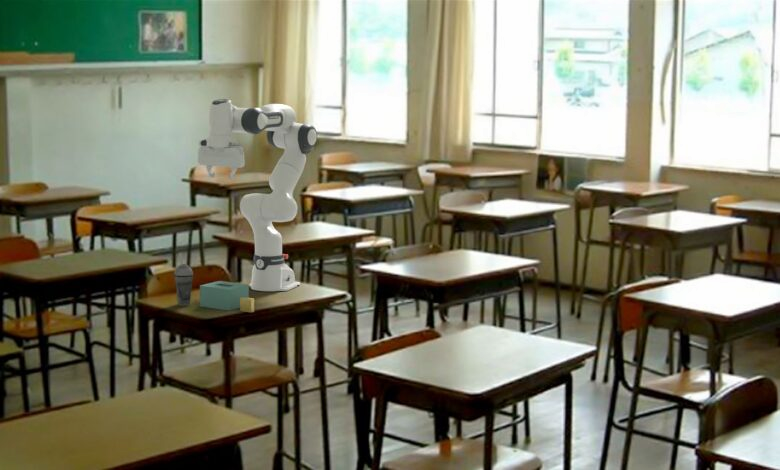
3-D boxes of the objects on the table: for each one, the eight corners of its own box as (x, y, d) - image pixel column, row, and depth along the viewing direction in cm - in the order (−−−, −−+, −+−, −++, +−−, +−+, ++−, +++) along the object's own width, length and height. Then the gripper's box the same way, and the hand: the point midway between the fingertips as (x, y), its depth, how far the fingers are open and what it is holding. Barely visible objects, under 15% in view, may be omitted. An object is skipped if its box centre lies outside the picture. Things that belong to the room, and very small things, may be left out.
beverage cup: (191, 306, 458) (191, 254, 455) (172, 306, 458) (171, 254, 455) (195, 302, 465) (194, 251, 462) (176, 302, 465) (175, 251, 462)
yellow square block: (243, 310, 454) (243, 296, 453) (254, 311, 451) (254, 298, 451) (240, 310, 452) (240, 297, 451) (251, 312, 450) (251, 299, 449)
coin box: (219, 300, 469) (219, 280, 468) (248, 305, 462) (248, 284, 461) (200, 306, 459) (199, 285, 458) (229, 310, 452) (229, 289, 451)
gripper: (248, 143, 457) (248, 179, 460) (205, 140, 468) (205, 175, 470) (238, 143, 452) (238, 180, 454) (195, 141, 462) (195, 177, 464)
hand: (221, 178), depth 462 cm, fingers open, 8 cm apart
